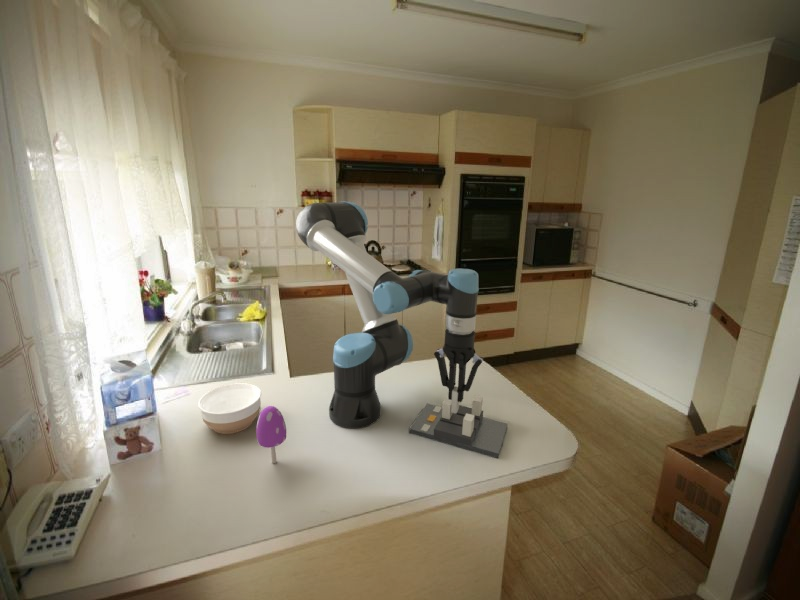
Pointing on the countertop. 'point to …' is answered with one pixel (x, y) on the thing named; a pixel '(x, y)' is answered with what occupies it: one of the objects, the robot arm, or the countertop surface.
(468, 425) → the breaker housings
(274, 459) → the toy
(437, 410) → the panel
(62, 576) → the countertop surface
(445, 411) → the handle
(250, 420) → the bowl
